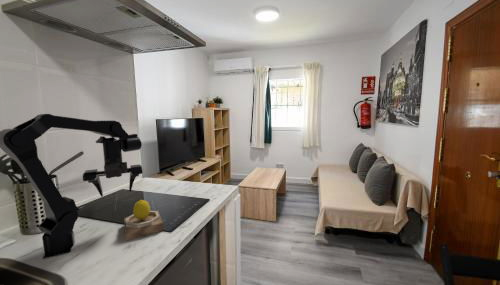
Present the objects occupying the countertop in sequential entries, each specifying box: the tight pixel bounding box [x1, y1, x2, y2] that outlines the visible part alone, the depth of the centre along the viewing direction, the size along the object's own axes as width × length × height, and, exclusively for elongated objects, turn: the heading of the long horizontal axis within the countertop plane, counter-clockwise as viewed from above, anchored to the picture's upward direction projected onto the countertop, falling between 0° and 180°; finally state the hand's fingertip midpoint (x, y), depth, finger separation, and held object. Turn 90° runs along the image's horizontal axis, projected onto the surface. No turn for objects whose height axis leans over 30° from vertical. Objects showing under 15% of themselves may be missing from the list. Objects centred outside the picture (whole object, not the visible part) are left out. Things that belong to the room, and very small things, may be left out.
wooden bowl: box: [123, 210, 164, 241], centre depth 81 cm, size 12×12×4 cm
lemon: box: [133, 199, 151, 220], centre depth 80 cm, size 6×6×8 cm
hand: (116, 194), depth 83 cm, fingers open, 9 cm apart
